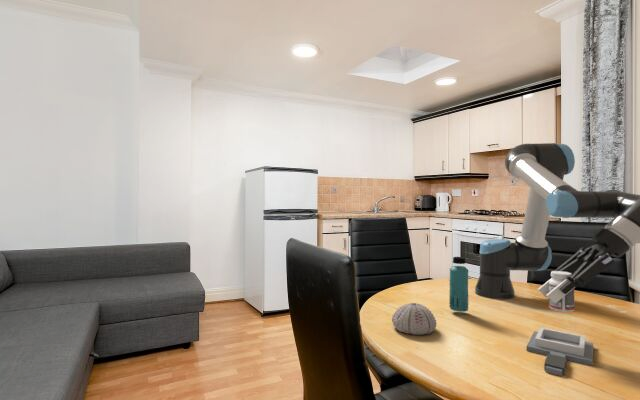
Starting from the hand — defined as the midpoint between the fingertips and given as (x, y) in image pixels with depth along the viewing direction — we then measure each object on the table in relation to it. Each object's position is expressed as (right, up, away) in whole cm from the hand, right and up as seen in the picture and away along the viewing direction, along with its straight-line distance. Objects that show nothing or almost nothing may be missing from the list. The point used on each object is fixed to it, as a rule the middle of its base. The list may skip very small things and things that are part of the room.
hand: (546, 296), depth 97 cm
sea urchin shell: (-33, -14, +13) cm, 38 cm away
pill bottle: (+4, -4, -1) cm, 5 cm away
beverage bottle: (-12, -14, +29) cm, 35 cm away
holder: (0, -14, -5) cm, 15 cm away
